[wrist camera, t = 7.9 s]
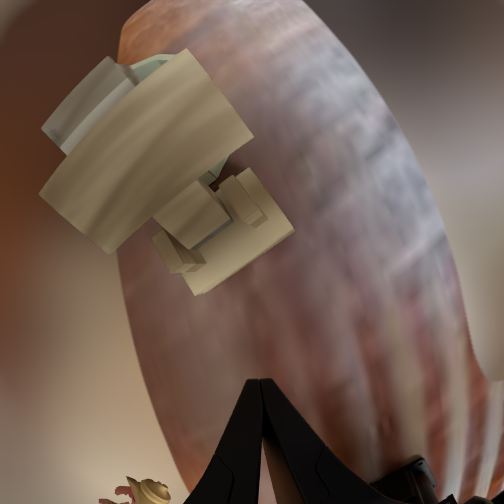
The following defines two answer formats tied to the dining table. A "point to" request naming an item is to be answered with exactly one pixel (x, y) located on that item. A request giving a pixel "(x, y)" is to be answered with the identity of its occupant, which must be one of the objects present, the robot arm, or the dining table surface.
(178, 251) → the stand
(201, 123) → the catapult arm
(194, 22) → the dining table surface
